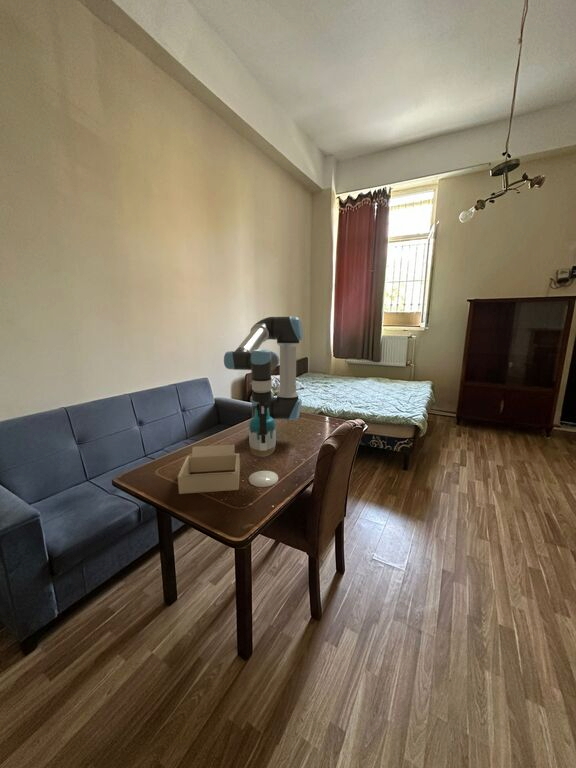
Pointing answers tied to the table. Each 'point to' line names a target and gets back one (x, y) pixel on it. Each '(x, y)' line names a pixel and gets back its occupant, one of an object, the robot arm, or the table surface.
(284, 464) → the table surface
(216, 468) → the carton
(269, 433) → the vase
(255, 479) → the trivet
